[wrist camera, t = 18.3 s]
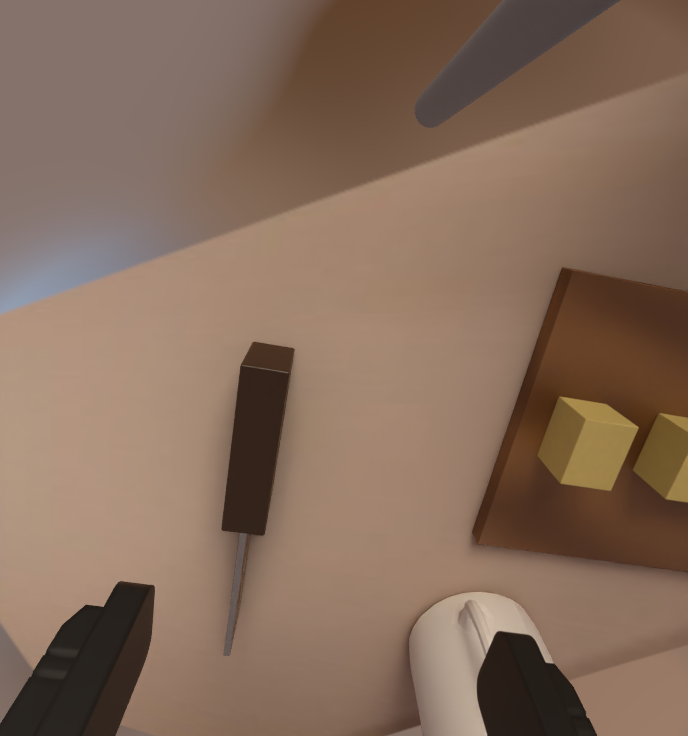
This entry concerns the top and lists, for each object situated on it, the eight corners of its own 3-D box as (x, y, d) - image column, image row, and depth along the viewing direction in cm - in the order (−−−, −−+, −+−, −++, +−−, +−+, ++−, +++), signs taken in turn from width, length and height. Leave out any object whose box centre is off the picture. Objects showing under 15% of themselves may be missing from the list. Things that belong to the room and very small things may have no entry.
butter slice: (558, 395, 27) (586, 418, 24) (606, 403, 27) (639, 427, 24) (536, 455, 28) (560, 483, 25) (582, 462, 28) (611, 491, 25)
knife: (252, 341, 26) (240, 364, 22) (294, 348, 26) (289, 372, 23) (219, 607, 33) (206, 660, 29) (253, 611, 33) (244, 663, 29)
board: (562, 267, 25) (573, 270, 24) (878, 329, 27) (902, 334, 26) (472, 531, 31) (477, 544, 30) (737, 567, 33) (752, 580, 32)
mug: (435, 695, 37) (482, 907, 26) (370, 592, 33) (391, 789, 22) (548, 652, 35) (648, 855, 24) (493, 540, 32) (583, 721, 21)
